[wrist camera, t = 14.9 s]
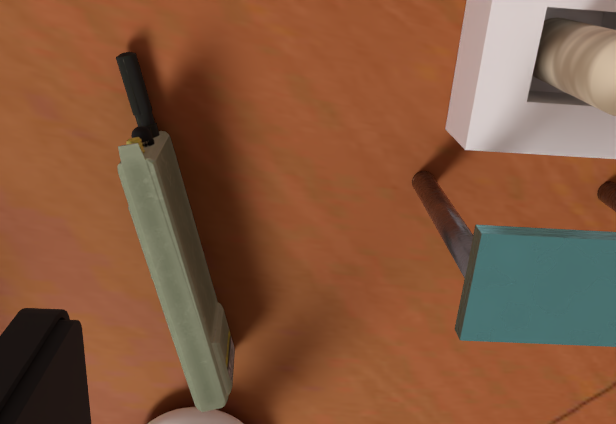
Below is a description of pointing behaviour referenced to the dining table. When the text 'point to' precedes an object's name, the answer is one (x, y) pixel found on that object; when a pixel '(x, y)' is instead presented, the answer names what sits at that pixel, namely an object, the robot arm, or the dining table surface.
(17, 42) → the dining table surface
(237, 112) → the dining table surface
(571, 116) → the socket block
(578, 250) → the small teal stool
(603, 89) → the peg
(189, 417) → the flower in vase
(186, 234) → the handheld radio
